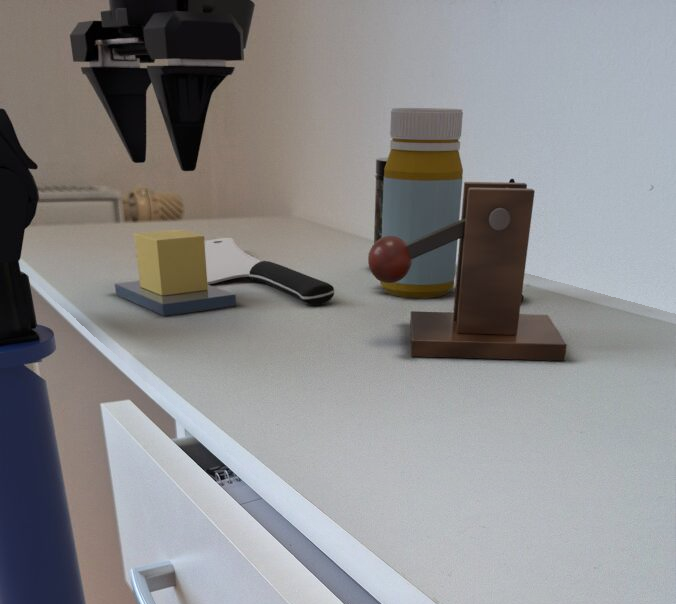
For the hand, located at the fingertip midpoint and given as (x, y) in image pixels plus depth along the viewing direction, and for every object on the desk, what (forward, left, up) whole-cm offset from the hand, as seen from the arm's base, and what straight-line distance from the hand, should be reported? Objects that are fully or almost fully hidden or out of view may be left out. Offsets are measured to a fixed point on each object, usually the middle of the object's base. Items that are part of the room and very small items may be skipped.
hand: (162, 166), depth 68 cm
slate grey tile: (0, 0, -11) cm, 11 cm away
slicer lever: (+11, -24, -5) cm, 27 cm away
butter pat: (0, 0, -10) cm, 10 cm away
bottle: (+21, -9, -11) cm, 25 cm away
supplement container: (+27, 0, -11) cm, 29 cm away
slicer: (+13, -26, -11) cm, 31 cm away
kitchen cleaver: (+10, +7, -11) cm, 16 cm away
